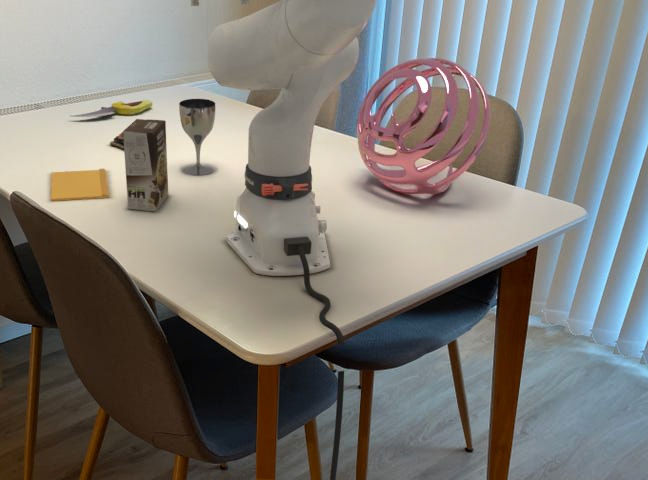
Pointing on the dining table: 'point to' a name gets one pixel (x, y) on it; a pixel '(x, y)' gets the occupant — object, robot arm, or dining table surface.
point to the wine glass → (197, 128)
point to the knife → (120, 109)
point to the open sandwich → (118, 141)
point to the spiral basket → (397, 132)
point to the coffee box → (146, 164)
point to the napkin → (79, 185)
